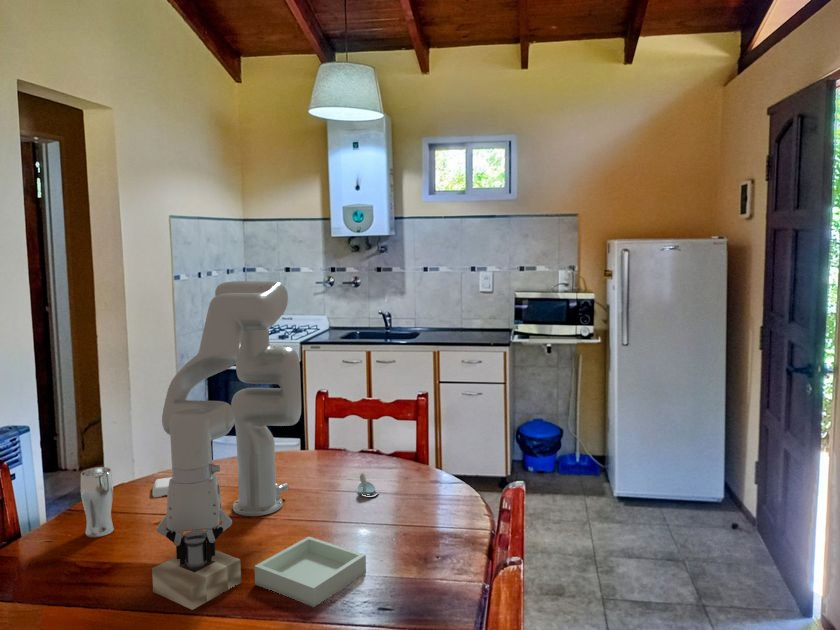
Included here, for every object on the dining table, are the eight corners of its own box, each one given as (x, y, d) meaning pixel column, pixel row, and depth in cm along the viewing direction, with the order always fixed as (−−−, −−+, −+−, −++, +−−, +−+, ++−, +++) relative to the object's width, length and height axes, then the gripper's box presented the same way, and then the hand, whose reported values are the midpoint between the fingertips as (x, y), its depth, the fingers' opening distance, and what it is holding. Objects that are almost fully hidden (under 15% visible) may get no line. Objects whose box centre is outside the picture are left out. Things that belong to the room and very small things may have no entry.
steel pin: (199, 579, 139) (197, 528, 137) (215, 585, 136) (213, 533, 135) (180, 589, 135) (177, 536, 133) (195, 596, 132) (193, 542, 131)
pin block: (202, 567, 144) (201, 544, 143) (241, 582, 137) (240, 559, 136) (153, 591, 134) (151, 568, 133) (192, 609, 127) (191, 585, 126)
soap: (178, 495, 184) (178, 485, 184) (151, 499, 182) (151, 488, 182) (178, 484, 193) (178, 474, 192) (153, 487, 190) (152, 477, 190)
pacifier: (379, 490, 187) (358, 489, 187) (380, 468, 187) (358, 468, 187) (378, 500, 180) (355, 499, 180) (378, 478, 179) (356, 477, 179)
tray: (309, 553, 150) (308, 536, 149) (366, 572, 141) (365, 554, 140) (255, 584, 136) (254, 565, 136) (314, 608, 127) (313, 588, 127)
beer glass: (103, 539, 157) (99, 477, 155) (76, 537, 158) (72, 475, 157) (121, 526, 164) (118, 467, 162) (96, 524, 165) (92, 465, 163)
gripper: (237, 463, 138) (241, 548, 140) (150, 469, 134) (155, 556, 137) (235, 476, 131) (238, 565, 133) (143, 482, 127) (148, 574, 129)
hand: (196, 559), depth 135 cm, fingers closed on steel pin, 4 cm apart
